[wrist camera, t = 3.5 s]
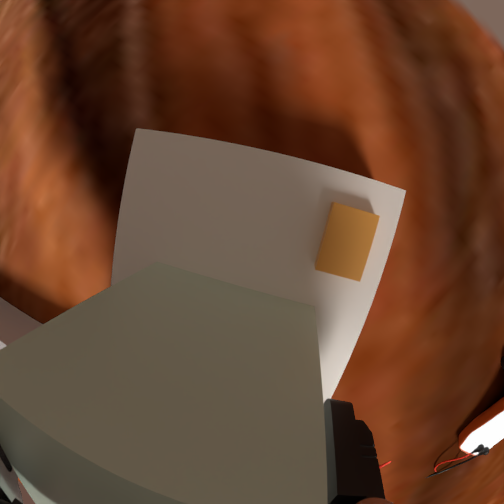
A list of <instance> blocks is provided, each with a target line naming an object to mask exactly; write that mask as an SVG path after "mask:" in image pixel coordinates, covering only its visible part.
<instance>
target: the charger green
mask: <svg viewBox="0 0 504 504" xmlns="http://www.w3.org/2000/svg"><path fill="white" fill-rule="evenodd" d="M0 445H1V447H2V449H3V451H4V453H5V454H6V456H7V458H8V460H9V462H10V464H11V465H12V467H13V469H14V471H15V472H16V474H17V476H18V477H19V479H20V481H21V482H22V484H23V485H24V487H25V488H26V490H27V491H28V493H29V495H30V496H31V498H32V499H33V500H34V502H35V503H36V504H328V503H327V461H326V438H325V420H324V404H323V390H322V378H321V366H320V355H319V344H318V334H317V325H316V316H315V307H314V306H312V305H308V304H304V303H300V302H296V301H293V300H289V299H285V298H281V297H278V296H274V295H270V294H267V293H263V292H259V291H256V290H252V289H249V288H245V287H241V286H238V285H234V284H231V283H227V282H224V281H220V280H217V279H214V278H210V277H207V276H203V275H200V274H197V273H193V272H190V271H187V270H183V269H180V268H177V267H173V266H170V265H167V264H163V263H160V262H155V263H154V264H152V265H150V266H148V267H146V268H144V269H142V270H140V271H138V272H137V273H135V274H133V275H131V276H129V277H127V278H125V279H123V280H122V281H120V282H118V283H116V284H114V285H112V286H111V287H109V288H107V289H105V290H103V291H101V292H100V293H98V294H96V295H94V296H92V297H91V298H89V299H87V300H85V301H83V302H82V303H80V304H78V305H76V306H74V307H73V308H71V309H69V310H67V311H66V312H64V313H62V314H60V315H58V316H57V317H55V318H53V319H51V320H50V321H48V322H46V323H45V324H43V325H41V326H39V327H38V328H36V329H34V330H33V331H31V332H29V333H27V334H26V335H24V336H22V337H21V338H19V339H17V340H16V341H14V342H12V343H11V344H9V345H7V346H6V347H4V348H2V349H1V350H0Z"/></svg>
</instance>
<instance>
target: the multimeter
mask: <svg viewBox="0 0 504 504" xmlns="http://www.w3.org/2000/svg"><path fill="white" fill-rule="evenodd" d="M501 366H502V368H503V370H504V356H503V357H502V359H501ZM503 438H504V397H503V398H502V399H500V400H499V401H498V402H496V403H495V404H494V405H492V406H491V407H490V408H488V409H487V410H486V411H484V412H483V413H481V414H480V415H479V416H477V417H476V418H475V419H474V420H473V421H472V422H471V423H470V424H469V425H468V426H466V427H465V428H464V430H463V431H462V432H461V433H460V434H459V438H458V439H459V448H460V449H461V450H462V451H463V452H465V453H467V454H468V455H466V456H464V457H460V458H456V459H451V460H446V461H443V462H441V463H439V464H437V465H436V466H435V468H434V471H435V472H437V471H436V467H437V466H438V465H440V464H442V463H445V462H449V461H454V460H459V459H463V458H465V457H467V456H469V455H476V456H474V457H472V458H470V459H468V460H466V461H464V462H461V463H459V464H456V465H454V466H452V467H450V468H448V469H445V470H443V471H441V472H438V473H435V474H432V475H430V476H428V477H431V476H433V475H436V474H439V473H442V472H444V471H446V470H449V469H451V468H453V467H455V466H458V465H460V464H463V463H465V462H467V461H469V460H471V459H473V458H475V457H477V456H479V455H487V454H488V453H489V449H490V448H492V447H493V446H494V445H495V444H496V443H497V442H499V441H500V440H502V439H503ZM390 462H392V461H389V462H387V463H384V464H382V465H380V466H379V468H382V467H384V466H385V465H387V464H389V463H390ZM428 477H427V478H428Z"/></svg>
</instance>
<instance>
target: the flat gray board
mask: <svg viewBox="0 0 504 504" xmlns="http://www.w3.org/2000/svg"><path fill="white" fill-rule="evenodd" d="M405 192H406V191H405V190H402V189H400V188H397V187H394V186H391V185H388V184H385V183H382V182H379V181H376V180H373V179H370V178H367V177H363V176H360V175H357V174H354V173H350V172H347V171H344V170H340V169H337V168H333V167H330V166H326V165H323V164H319V163H315V162H312V161H308V160H304V159H300V158H296V157H292V156H288V155H284V154H280V153H276V152H271V151H267V150H263V149H258V148H253V147H249V146H244V145H239V144H234V143H229V142H224V141H219V140H213V139H208V138H202V137H196V136H190V135H183V134H177V133H170V132H163V131H155V130H148V129H139V128H136V131H135V135H134V139H133V144H132V148H131V153H130V157H129V162H128V167H127V172H126V177H125V182H124V187H123V193H122V199H121V205H120V211H119V218H118V225H117V232H116V240H115V248H114V258H113V268H112V279H111V286H112V285H114V284H116V283H118V282H120V281H122V280H123V279H125V278H127V277H129V276H131V275H133V274H135V273H137V272H138V271H140V270H142V269H144V268H146V267H148V266H150V265H152V264H154V263H155V262H160V263H163V264H167V265H170V266H173V267H177V268H180V269H183V270H187V271H190V272H193V273H197V274H200V275H203V276H207V277H210V278H214V279H217V280H220V281H224V282H227V283H231V284H234V285H238V286H241V287H245V288H249V289H252V290H256V291H259V292H263V293H267V294H270V295H274V296H278V297H281V298H285V299H289V300H293V301H296V302H300V303H304V304H308V305H312V306H314V307H315V316H316V325H317V334H318V344H319V355H320V366H321V378H322V390H323V404H324V402H325V401H326V399H328V398H329V399H331V397H332V395H333V393H334V391H335V389H336V387H337V385H338V382H339V380H340V378H341V376H342V374H343V372H344V369H345V367H346V365H347V363H348V361H349V358H350V356H351V354H352V351H353V349H354V347H355V344H356V342H357V340H358V337H359V335H360V332H361V330H362V327H363V325H364V322H365V320H366V317H367V315H368V312H369V309H370V307H371V304H372V301H373V298H374V296H375V293H376V290H377V287H378V284H379V282H380V279H381V276H382V273H383V270H384V267H385V264H386V260H387V257H388V254H389V251H390V248H391V244H392V241H393V238H394V234H395V231H396V227H397V223H398V220H399V216H400V212H401V209H402V205H403V201H404V197H405Z"/></svg>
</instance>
